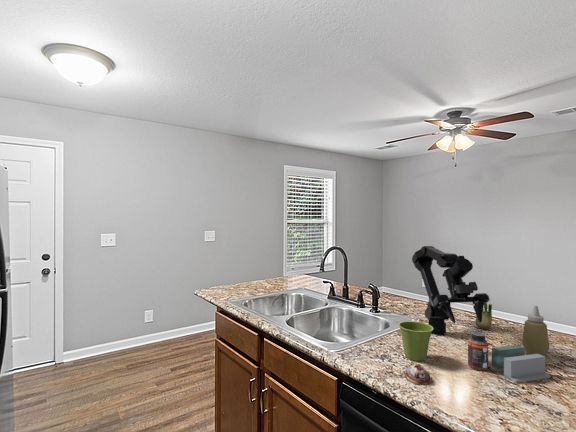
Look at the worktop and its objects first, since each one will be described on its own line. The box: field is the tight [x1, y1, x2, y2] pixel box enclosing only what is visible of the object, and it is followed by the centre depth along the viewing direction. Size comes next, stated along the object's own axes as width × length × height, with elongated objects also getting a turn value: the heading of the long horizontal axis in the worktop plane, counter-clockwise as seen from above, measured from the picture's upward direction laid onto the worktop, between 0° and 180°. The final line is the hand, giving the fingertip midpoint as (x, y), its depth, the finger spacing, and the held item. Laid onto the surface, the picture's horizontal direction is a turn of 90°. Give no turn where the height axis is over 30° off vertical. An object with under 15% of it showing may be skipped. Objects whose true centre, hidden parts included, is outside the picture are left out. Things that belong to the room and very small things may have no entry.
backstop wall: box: [503, 354, 551, 384], centre depth 102 cm, size 4×14×6 cm, turn 105°
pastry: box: [404, 363, 432, 386], centre depth 101 cm, size 8×8×5 cm
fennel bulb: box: [475, 302, 493, 331], centre depth 148 cm, size 6×5×12 cm
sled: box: [488, 344, 525, 372], centre depth 113 cm, size 11×11×7 cm
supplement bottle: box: [467, 331, 489, 372], centre depth 109 cm, size 6×6×11 cm
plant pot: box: [397, 320, 433, 362], centre depth 116 cm, size 12×12×11 cm
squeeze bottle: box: [521, 305, 550, 357], centre depth 120 cm, size 8×8×18 cm
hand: (467, 322), depth 118 cm, fingers open, 9 cm apart
